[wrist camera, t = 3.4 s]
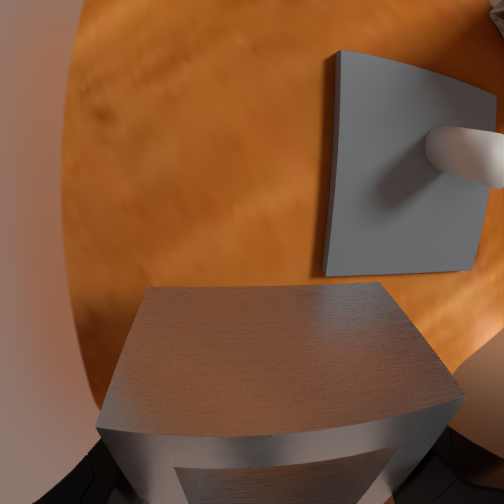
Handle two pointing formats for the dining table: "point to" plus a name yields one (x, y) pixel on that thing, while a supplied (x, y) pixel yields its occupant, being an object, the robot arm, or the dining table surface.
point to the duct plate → (408, 169)
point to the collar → (274, 396)
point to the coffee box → (498, 16)
